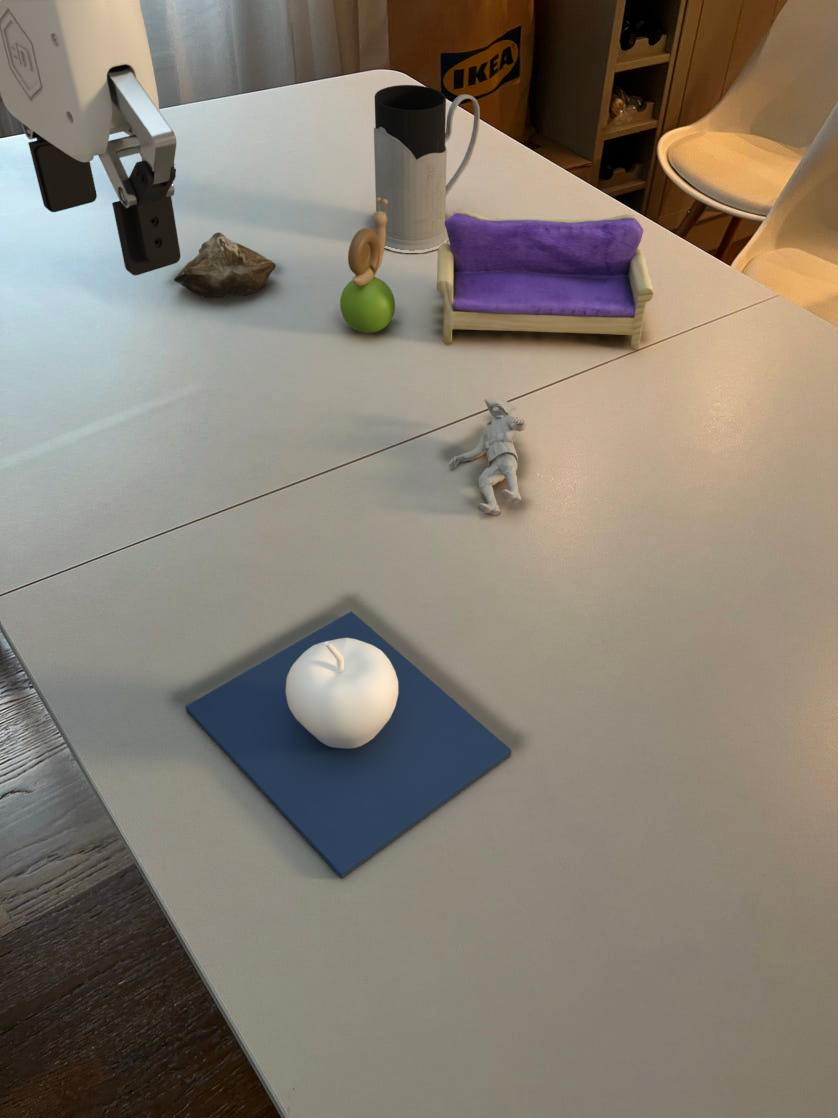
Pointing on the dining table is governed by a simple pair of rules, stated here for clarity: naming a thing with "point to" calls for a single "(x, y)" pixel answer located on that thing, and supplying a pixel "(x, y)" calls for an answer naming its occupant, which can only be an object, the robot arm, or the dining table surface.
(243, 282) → the dark brown rough lump
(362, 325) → the snail figurine
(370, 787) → the blue square board
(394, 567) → the dining table surface
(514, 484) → the soldier figure
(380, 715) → the plain white apple
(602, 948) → the dining table surface
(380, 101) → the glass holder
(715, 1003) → the dining table surface
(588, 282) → the toy sofa
